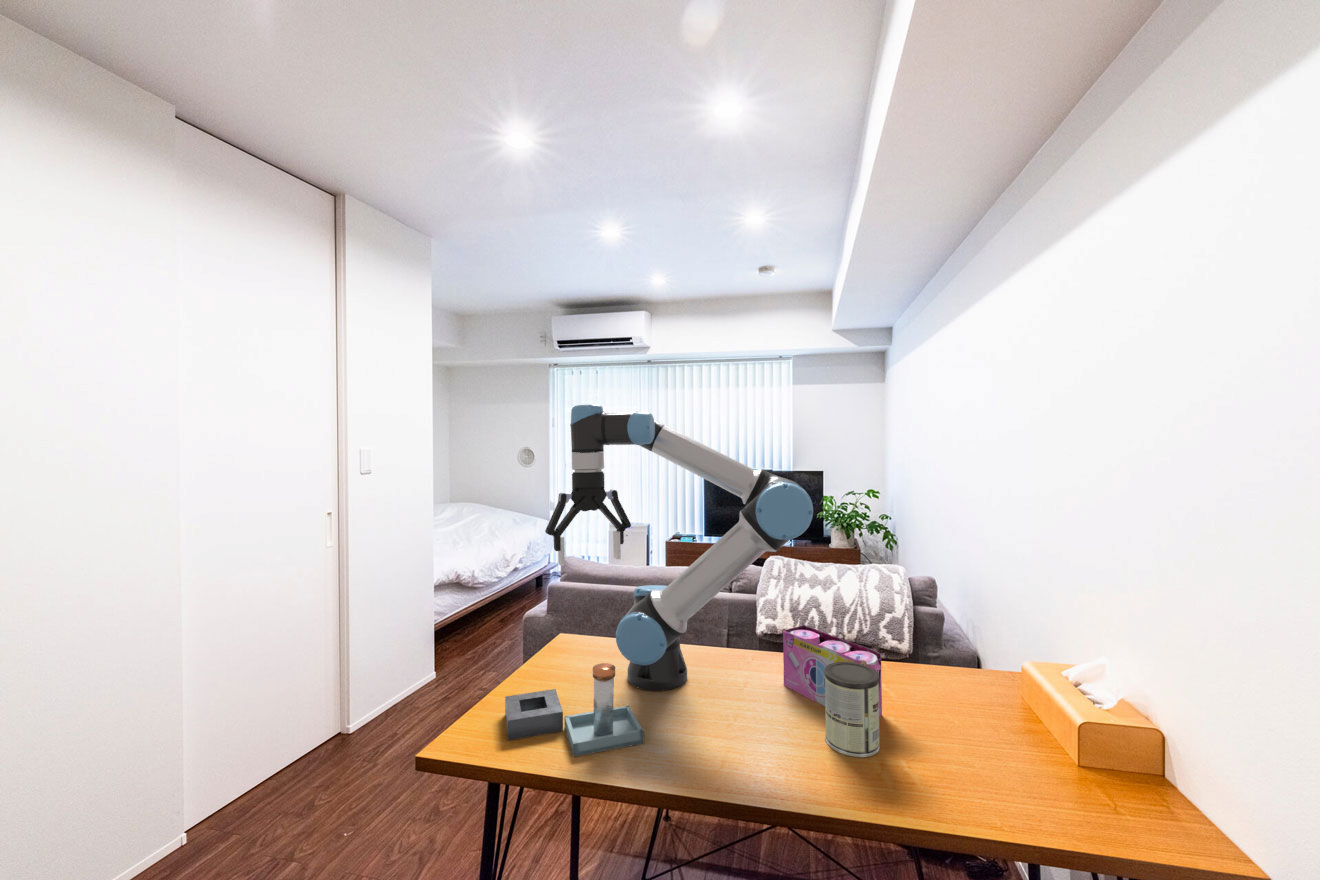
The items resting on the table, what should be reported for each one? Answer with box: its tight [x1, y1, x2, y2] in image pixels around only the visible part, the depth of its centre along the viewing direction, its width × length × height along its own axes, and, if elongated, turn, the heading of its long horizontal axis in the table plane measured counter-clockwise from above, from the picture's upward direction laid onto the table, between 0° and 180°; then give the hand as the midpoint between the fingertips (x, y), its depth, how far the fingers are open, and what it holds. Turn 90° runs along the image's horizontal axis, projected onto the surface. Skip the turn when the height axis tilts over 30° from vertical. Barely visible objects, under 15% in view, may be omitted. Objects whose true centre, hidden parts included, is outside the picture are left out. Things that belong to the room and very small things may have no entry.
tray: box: [564, 705, 645, 757], centre depth 111 cm, size 14×11×2 cm
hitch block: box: [504, 688, 564, 741], centre depth 116 cm, size 11×11×4 cm
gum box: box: [782, 624, 883, 717], centre depth 126 cm, size 24×8×14 cm, turn 32°
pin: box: [592, 662, 616, 737], centre depth 111 cm, size 5×5×13 cm
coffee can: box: [824, 662, 881, 758], centre depth 108 cm, size 10×10×14 cm
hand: (590, 561), depth 128 cm, fingers open, 13 cm apart
